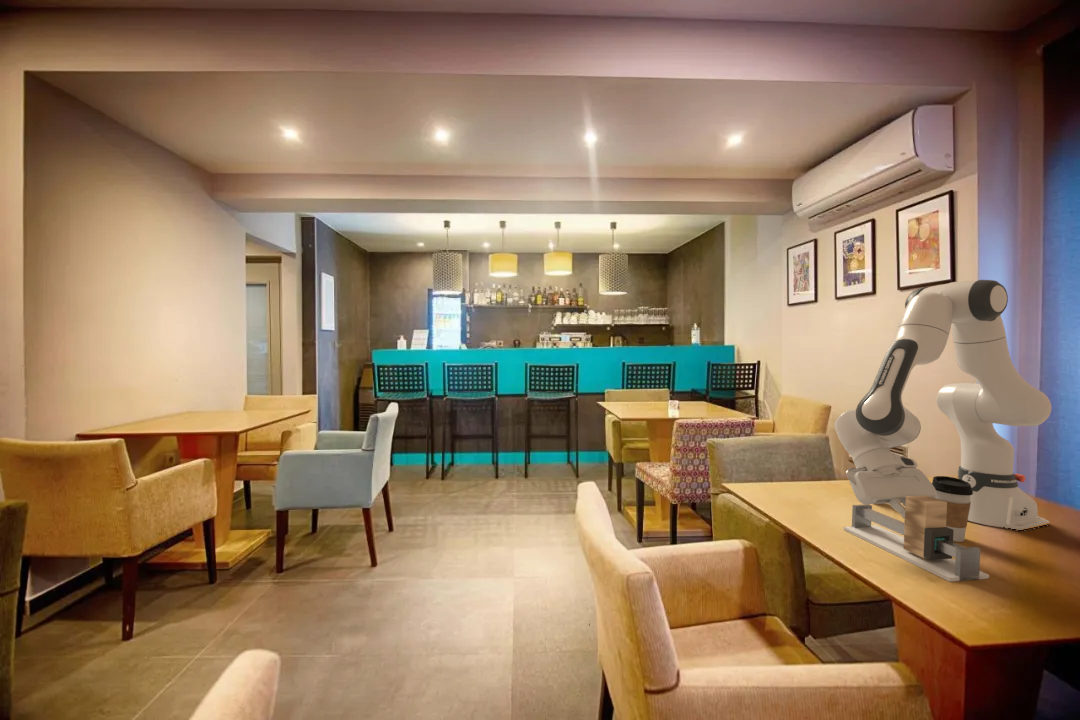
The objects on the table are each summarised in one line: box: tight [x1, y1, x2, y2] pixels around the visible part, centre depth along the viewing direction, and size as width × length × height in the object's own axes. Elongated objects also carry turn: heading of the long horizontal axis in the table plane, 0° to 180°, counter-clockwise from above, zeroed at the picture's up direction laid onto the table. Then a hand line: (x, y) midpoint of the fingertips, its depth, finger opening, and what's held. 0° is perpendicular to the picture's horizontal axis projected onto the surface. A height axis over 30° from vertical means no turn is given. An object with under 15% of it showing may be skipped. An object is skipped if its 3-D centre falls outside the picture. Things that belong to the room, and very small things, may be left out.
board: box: [843, 524, 990, 582], centre depth 115 cm, size 28×10×1 cm, turn 10°
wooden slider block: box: [903, 495, 947, 558], centre depth 110 cm, size 5×6×13 cm
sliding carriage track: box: [851, 504, 982, 582], centre depth 114 cm, size 28×5×7 cm, turn 10°
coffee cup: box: [931, 475, 973, 543], centre depth 123 cm, size 8×8×15 cm
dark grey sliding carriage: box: [924, 527, 954, 560], centre depth 107 cm, size 2×6×7 cm, turn 99°
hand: (912, 518), depth 114 cm, fingers closed, pressing on wooden slider block
